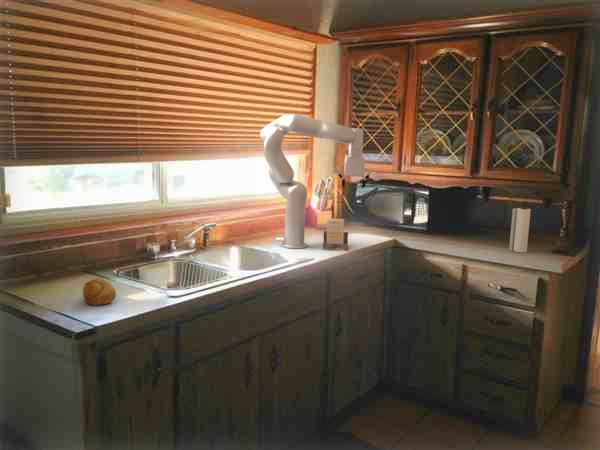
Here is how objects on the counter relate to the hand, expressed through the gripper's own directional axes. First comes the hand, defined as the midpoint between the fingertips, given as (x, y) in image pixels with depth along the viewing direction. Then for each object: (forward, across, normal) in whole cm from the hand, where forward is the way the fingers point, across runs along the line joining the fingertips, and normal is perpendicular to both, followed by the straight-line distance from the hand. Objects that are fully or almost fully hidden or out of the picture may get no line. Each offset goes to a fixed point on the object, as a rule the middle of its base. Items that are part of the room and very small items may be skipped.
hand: (353, 187), depth 271 cm
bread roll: (+29, -83, -110) cm, 141 cm away
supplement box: (+28, -8, -14) cm, 32 cm away
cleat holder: (+28, -8, -14) cm, 33 cm away
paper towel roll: (+28, +82, -6) cm, 87 cm away
